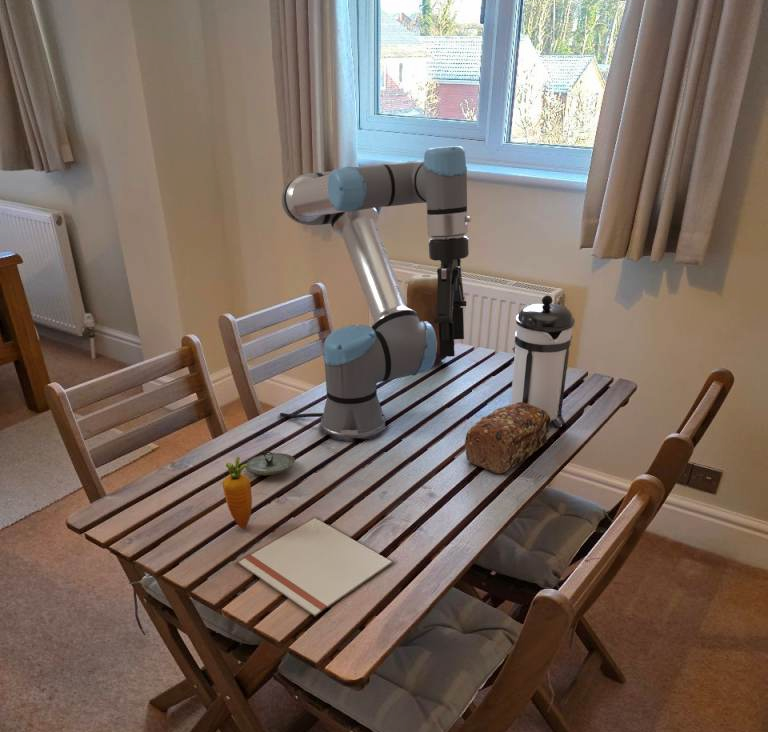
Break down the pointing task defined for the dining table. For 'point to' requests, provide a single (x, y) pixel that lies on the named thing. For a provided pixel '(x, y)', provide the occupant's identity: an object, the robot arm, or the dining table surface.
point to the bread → (507, 436)
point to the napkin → (315, 565)
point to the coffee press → (542, 356)
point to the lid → (269, 463)
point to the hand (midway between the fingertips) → (452, 347)
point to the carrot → (238, 494)
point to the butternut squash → (425, 302)
